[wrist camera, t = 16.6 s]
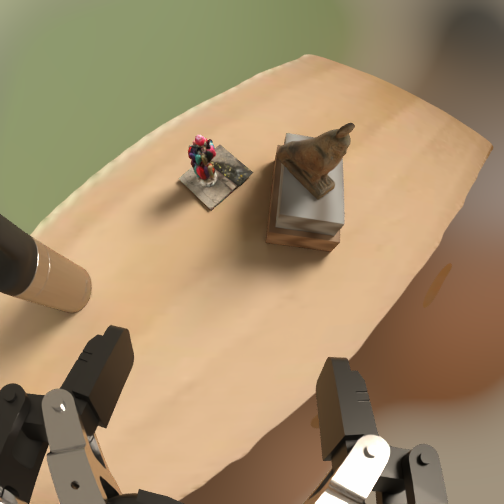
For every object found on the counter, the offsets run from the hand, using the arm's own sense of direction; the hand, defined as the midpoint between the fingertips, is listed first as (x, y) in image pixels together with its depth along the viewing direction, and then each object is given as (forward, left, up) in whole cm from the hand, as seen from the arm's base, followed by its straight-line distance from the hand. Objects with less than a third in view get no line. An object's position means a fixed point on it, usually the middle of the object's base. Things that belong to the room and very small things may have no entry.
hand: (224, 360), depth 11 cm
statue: (-8, +31, -37) cm, 49 cm away
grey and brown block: (+9, +28, -37) cm, 47 cm away
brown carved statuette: (+7, +28, -27) cm, 40 cm away
